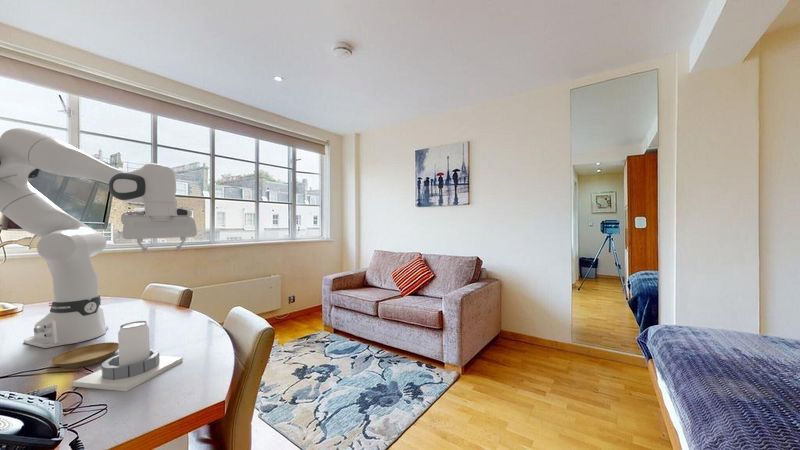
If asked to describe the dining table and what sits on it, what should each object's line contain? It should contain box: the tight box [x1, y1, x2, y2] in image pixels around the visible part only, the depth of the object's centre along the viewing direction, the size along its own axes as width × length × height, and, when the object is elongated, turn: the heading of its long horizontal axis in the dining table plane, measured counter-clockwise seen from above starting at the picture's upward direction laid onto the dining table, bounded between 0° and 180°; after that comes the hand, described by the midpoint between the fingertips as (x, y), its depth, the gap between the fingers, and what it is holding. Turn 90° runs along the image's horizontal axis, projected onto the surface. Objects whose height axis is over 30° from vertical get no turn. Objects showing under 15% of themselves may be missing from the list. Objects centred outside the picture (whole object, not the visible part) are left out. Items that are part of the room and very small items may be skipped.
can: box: [117, 320, 151, 366], centre depth 85 cm, size 6×6×12 cm
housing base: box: [72, 348, 184, 392], centre depth 84 cm, size 16×16×4 cm
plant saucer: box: [50, 341, 119, 370], centre depth 93 cm, size 15×15×3 cm
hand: (162, 251), depth 106 cm, fingers open, 8 cm apart
